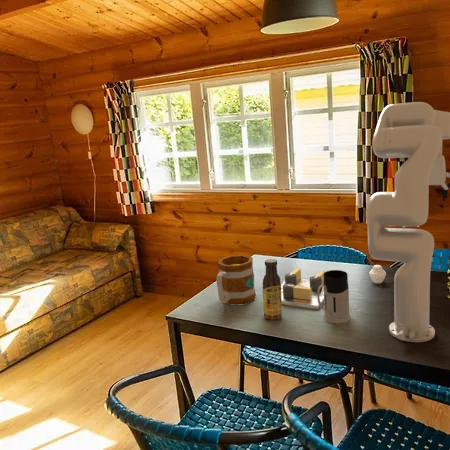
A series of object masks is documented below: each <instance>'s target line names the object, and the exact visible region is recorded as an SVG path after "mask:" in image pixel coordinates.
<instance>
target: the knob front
mask: <svg viewBox="0 0 450 450" xmlns="http://www.w3.org/2000/svg"><path fill="white" fill-rule="evenodd" d="M283 297H284V298H287V299H291V298H298V299H306V300H311V299H312V291H311V288H310V287H302V286H295V285H294V284H284V285H283Z"/></svg>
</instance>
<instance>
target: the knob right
mask: <svg viewBox="0 0 450 450" xmlns="http://www.w3.org/2000/svg"><path fill="white" fill-rule="evenodd" d="M325 272H326V271H325V270H320V271H319V272H318V273H316V275H315V276H310V277H309V280H310V288H311V290H315V291H317V290H318V288H319V286H320V285H322V284H323V283H324V273H325ZM321 289H322V287H321ZM321 289H320V290H321Z"/></svg>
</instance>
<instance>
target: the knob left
mask: <svg viewBox="0 0 450 450" xmlns="http://www.w3.org/2000/svg"><path fill="white" fill-rule="evenodd" d="M300 279H302V269H301V268H298V267H296V268H295V269H293V271H291V272H290V273H286V274H284V281H285V284H294V285H295V286H296V285H297V282H298V281H299V280H300Z"/></svg>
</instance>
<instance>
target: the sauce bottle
mask: <svg viewBox="0 0 450 450" xmlns="http://www.w3.org/2000/svg"><path fill="white" fill-rule="evenodd" d="M264 266H265V275H264V276H263V279H262V305H263V306H262V307H263V312H262V313H263V317H264V318H265V319H266V320H272V321H274V320H279V319H281V317H282V313H283V306H282V305H283V304H282V298H281V276H279V273H278V269H277V268H278V260H277V259H275V258H269V259H265V260H264Z"/></svg>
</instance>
